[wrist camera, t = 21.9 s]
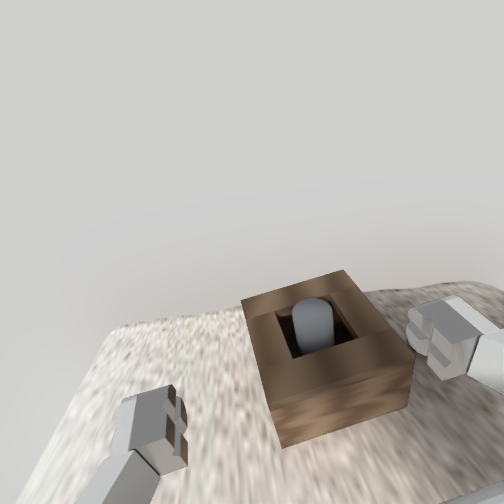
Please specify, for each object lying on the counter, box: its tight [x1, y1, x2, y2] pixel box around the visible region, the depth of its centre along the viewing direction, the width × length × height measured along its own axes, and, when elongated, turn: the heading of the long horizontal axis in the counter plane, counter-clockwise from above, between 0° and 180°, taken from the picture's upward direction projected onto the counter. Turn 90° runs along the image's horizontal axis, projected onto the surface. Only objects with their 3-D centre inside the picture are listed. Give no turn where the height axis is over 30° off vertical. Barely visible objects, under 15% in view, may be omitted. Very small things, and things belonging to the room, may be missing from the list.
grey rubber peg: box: [292, 298, 335, 357], centre depth 38 cm, size 5×5×12 cm
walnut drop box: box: [241, 270, 415, 449], centre depth 39 cm, size 16×16×10 cm
